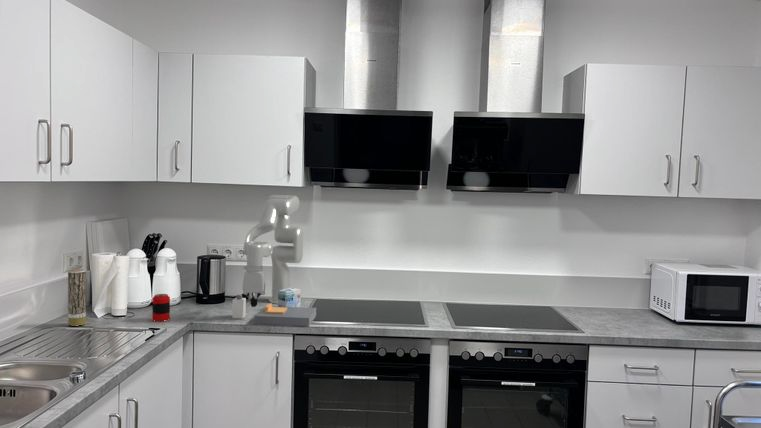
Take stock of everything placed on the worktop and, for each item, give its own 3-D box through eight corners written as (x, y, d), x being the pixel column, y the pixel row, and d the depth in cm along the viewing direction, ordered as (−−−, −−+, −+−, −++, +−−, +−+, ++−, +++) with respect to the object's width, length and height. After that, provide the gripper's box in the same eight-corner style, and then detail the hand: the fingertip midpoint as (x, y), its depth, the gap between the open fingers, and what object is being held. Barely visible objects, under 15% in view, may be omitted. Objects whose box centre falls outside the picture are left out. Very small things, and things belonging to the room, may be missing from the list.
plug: (235, 315, 258) (235, 293, 257) (245, 315, 258) (245, 294, 257) (232, 318, 253) (232, 295, 252) (242, 318, 253) (242, 296, 252)
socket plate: (265, 313, 263) (265, 305, 263) (316, 315, 262) (316, 307, 261) (254, 324, 243) (254, 315, 243) (308, 326, 242) (309, 318, 241)
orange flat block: (269, 308, 257) (269, 303, 257) (287, 309, 256) (287, 303, 256) (264, 313, 248) (264, 307, 248) (283, 313, 248) (283, 308, 247)
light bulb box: (286, 312, 266) (286, 292, 265) (277, 310, 270) (277, 290, 269) (301, 309, 275) (301, 289, 274) (292, 307, 279) (292, 287, 278)
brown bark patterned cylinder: (66, 327, 229) (65, 271, 228) (70, 323, 236) (70, 269, 234) (83, 327, 231) (83, 271, 229) (87, 323, 237) (87, 269, 236)
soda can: (152, 322, 241) (152, 297, 240) (152, 318, 248) (152, 293, 247) (169, 321, 244) (169, 296, 243) (169, 317, 251) (169, 293, 250)
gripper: (236, 269, 248) (236, 307, 249) (267, 270, 247) (267, 308, 248) (241, 267, 256) (241, 304, 257) (271, 268, 255) (271, 305, 256)
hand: (253, 306), depth 252 cm, fingers closed
